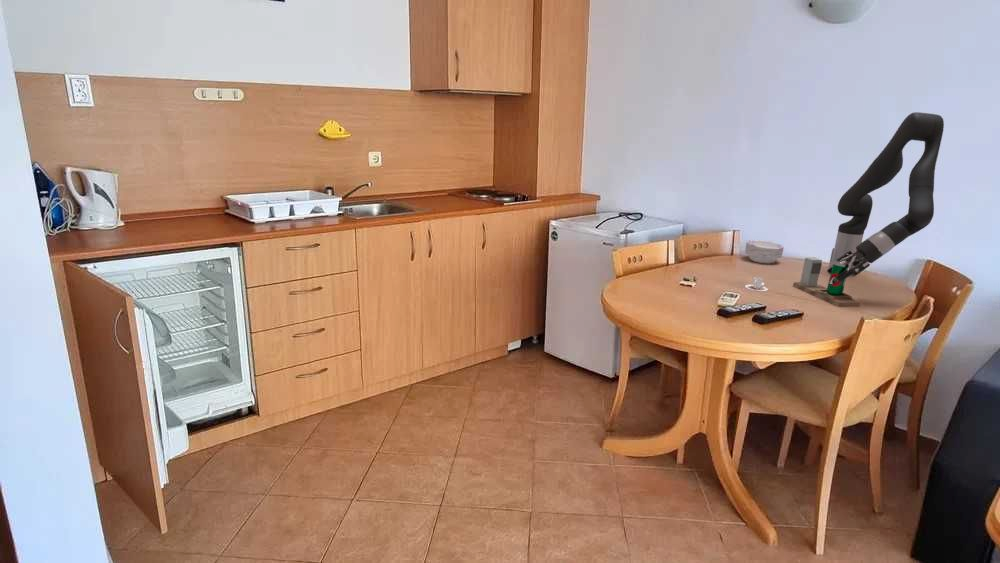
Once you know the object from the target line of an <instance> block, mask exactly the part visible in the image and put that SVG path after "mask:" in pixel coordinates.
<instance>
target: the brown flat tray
mask: <svg viewBox="0 0 1000 563" xmlns="http://www.w3.org/2000/svg"><path fill="white" fill-rule="evenodd" d="M800 282H801V281H797V282H796V281H794V282H793V285H792V286H793V287H794V288H797V289H798V290H801V291H803V292H806V293H807V294H809V295H812V296H814V297H816V298H819V299H821V300H823V301H826V302H828V303H829V304H831V305H834V306H837V307H839V308H846V307H847V308H848V307H849V308H850V307H860V305H861V302H860V301H859V300H856V299H853V296H852V295H850V294H848V293H845V292H843V294H842V295H841V296H831V295H829V294H827V292H826V291H827V287H825V286H822V285H820V284H818V283H817V286H806V285H804V284H801V283H800Z"/></svg>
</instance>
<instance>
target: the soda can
mask: <svg viewBox="0 0 1000 563" xmlns="http://www.w3.org/2000/svg"><path fill="white" fill-rule="evenodd" d="M848 264H849V263H847V262H844V261H835V262H834V263H833V266H832V270H831V274H829V279H828V283H827V287H826V288H827V291H826V292H827V294H829V295H831V296H841V295H842V294H843V293H844V290H845V284H846V282H847V278H845V279H844V280H842V281H839V280H838V279H837V278H836V276H838V275H839V274H840V273H842V272H843V271H845V270H846V269H847V268H848V267H849V266H848Z"/></svg>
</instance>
